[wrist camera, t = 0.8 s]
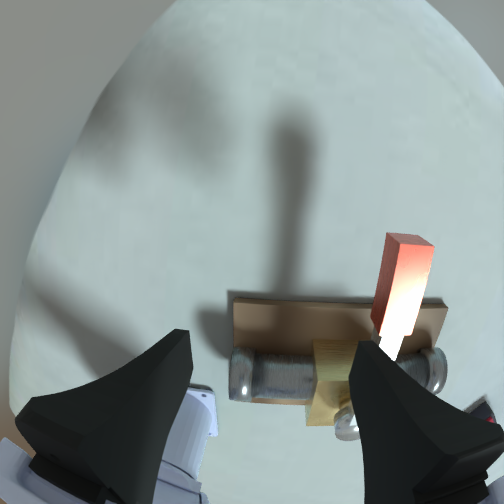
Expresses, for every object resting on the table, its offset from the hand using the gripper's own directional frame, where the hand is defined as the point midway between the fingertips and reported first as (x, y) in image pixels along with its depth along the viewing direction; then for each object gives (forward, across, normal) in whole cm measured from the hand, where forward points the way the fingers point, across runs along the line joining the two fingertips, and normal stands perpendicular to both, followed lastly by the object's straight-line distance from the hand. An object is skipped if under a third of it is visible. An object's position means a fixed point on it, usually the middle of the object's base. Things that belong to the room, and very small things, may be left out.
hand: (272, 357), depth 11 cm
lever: (+4, -6, +3) cm, 8 cm away
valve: (+10, -6, +8) cm, 15 cm away
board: (+10, -6, +8) cm, 15 cm away
